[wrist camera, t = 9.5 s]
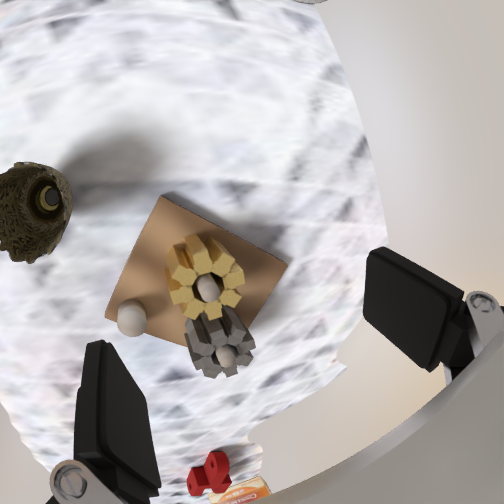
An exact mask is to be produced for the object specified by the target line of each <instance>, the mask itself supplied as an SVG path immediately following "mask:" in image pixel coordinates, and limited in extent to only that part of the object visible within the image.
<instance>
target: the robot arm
mask: <svg viewBox="0 0 504 504" xmlns="http://www.w3.org/2000/svg"><path fill="white" fill-rule="evenodd" d="M295 1H299V2H304V3H321V2H324V1H327V0H295ZM463 295H464V291H462V290H461V289H459V288H457V287H456V286H454V285H452V284H451V283H449V282H447V281H445V280H444V279H442V278H440V277H439V276H437V275H435V274H434V273H432V272H430V271H428V270H427V269H425V268H423V267H421V266H419V265H418V264H416V263H414V262H412V261H410V260H409V259H407V258H405V257H403V256H401V255H399V254H398V253H396V252H394V251H392V250H390V249H388V248H386V247H384V246H383V247H379V248H377V249H374V250H372V251H370V253H369V256H368V257H367V260H366V278H365V292H364V304H363V316H364V318H365V320H367V322H369V323H370V324H371V325H372V326H373V327H375V328H376V329H377V330H378V331H379V332H380V333H382V334H383V335H384V336H385V337H386V338H387V339H388V340H390V341H391V342H392V343H393V344H394V345H395V346H396V347H398V348H399V349H400V350H401V351H402V352H403V353H405V354H406V355H407V356H408V357H409V358H410V359H411V360H412V361H414V362H415V363H416V364H417V365H418V366H419V367H421V368H425V369H426V370H427V371H428V372H432V371H433V370H434V369H435V368H436V367H437V366H439V363H440V361H441V362H442V363H443V366H444V372H445V379H446V387H445V388H444V389H443V390H442V391H441V392H440V393H439V394H437V395H436V396H435V397H434V398H433V399H432V400H430V401H429V402H428V403H427V404H426V405H424V406H423V407H422V408H421V409H420V410H418V411H417V412H416V413H415V414H413V415H412V416H411V417H409V418H408V419H407V420H405V421H404V422H403V423H401V424H400V425H399V426H397V427H396V428H394V429H393V430H392V431H390V432H389V433H387V434H386V435H384V436H383V437H382V438H380V439H379V440H377V441H375V442H374V443H372V444H371V445H370V446H368V447H366V448H365V449H363V450H361V451H360V452H358V453H356V454H355V455H353V456H351V457H350V458H348V459H346V460H344V461H342V462H340V463H339V464H337V465H335V466H333V467H331V468H329V469H327V470H325V471H324V472H321V473H320V474H317V475H316V476H313V477H311V478H309V479H307V480H305V481H303V482H300V483H298V484H296V485H293V486H291V487H289V488H286V489H284V490H281V491H279V492H276V493H274V494H271V495H268V496H266V497H263V498H260V499H257V500H254V501H251V502H248V503H245V504H504V306H499V304H498V302H497V300H496V299H495V298H494V297H493V296H491V295H490V294H488V293H485V292H482V291H473V292H471V293H469V294H468V295H467V297H466V301H465V302H464V301H462V298H463ZM50 487H51V491H52V493H53V496H52V497H51V498H50V499H49V500H48V502H47V503H46V504H150V500H149V498H150V497H157V496H159V492H158V488H161V480H160V475H159V471H158V466H157V461H156V457H155V451H154V446H153V441H152V435H151V429H150V423H149V416H148V409H147V402H146V399H145V396H144V394H143V393H142V391H141V390H140V388H139V387H138V385H137V384H136V382H135V381H134V379H133V378H132V376H131V375H130V373H129V371H128V370H127V368H126V367H125V365H124V363H123V362H122V360H121V358H120V357H119V355H118V353H117V352H116V350H115V348H114V347H113V345H112V344H111V343H110V342H109V343H106V342H105V341H104V340H99V341H95V342H91V343H88V344H87V346H86V352H85V358H84V365H83V372H82V380H81V387H80V388H79V389H78V392H77V400H76V411H75V426H74V460H65V461H62V462H60V463H59V464H57V465H56V466H55V468H54V469H53V470H52V473H51V476H50Z"/></svg>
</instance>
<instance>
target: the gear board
mask: <svg viewBox="0 0 504 504" xmlns="http://www.w3.org/2000/svg"><path fill="white" fill-rule="evenodd" d="M194 234H197V235H198V237H199V238H200V240H201V241H202V243H205V242H206V240H207V239H208V237H209V236H211V237H213V238H214V239H216V240H218V241H219V242H221V244H222V245H223V246H224V247H225V248H226V249H227V251H228V252H229V253H230V254H231V255H232V256H233V257H234V258H235V262H236V263H237V264H238V265H239V266H240V268H241V269H242V270H243V273H244V279H245V284H242V285H239V286H236V289H237V290H238V292H239V293H240V295H241V296H242V297H241V299H240V300H239V302H238V303H237V305H236V306H235V308H233V307H231V306H229V305H227V304H226V306H225V305H223V304H221V305H222V308H221V312H222V317H219V318H216V319H213V320H210V321H209V319H208V317H207V315H206V313H205V311H204V310H203V312H202V313H199V315H198V316H197V318H196V320H194V319H191V318H189V317H187V316H184V315H183V314H182V311H181V307H180V304H175V305H173V302H172V299H171V295H170V292H169V288H168V284H167V279H166V275H165V270H164V269H166V268H169V266H168V262H167V258H166V256H167V254H168V252H169V251H170V249H171V247H172V246H175V247H177V248H178V249H180V250H181V249H183V250H185V248H184V246H186V245H185V241H184V237H187V236H190V235H194ZM287 267H288V265H287V264H286V263H285V262H283V261H281V260H280V259H278V258H276V257H274V256H272V255H270V254H269V253H267V252H265V251H263V250H261V249H259V248H258V247H256V246H254V245H252V244H250V243H248V242H247V241H245V240H243V239H241V238H239V237H237V236H235V235H234V234H232V233H230V232H228V231H226V230H224V229H223V228H221V227H219V226H217V225H215V224H213V223H211V222H210V221H208V220H206V219H204V218H202V217H200V216H198V215H197V214H195V213H193V212H191V211H189V210H187V209H185V208H184V207H182V206H180V205H178V204H176V203H174V202H172V201H170V200H169V199H167V198H165V197H163V196H160V197H159V199H158V201H157V203H156V205H155V207H154V208H153V210H152V212H151V214H150V216H149V218H148V220H147V222H146V224H145V226H144V228H143V229H142V231H141V233H140V235H139V237H138V239H137V241H136V244H135V246H134V248H133V250H132V252H131V254H130V256H129V258H128V260H127V262H126V265H125V267H124V269H123V271H122V273H121V276H120V278H119V280H118V283H117V285H116V287H115V289H114V292H113V294H112V297H111V299H110V301H109V304H108V306H107V309H106V311H105V318H107V319H109V320H112V321H114V322H117V326H118V329H119V330H120V332H121V333H123V334H124V335H126V336H129V337H136V336H139V335H141V334H143V333H146V334H149V335H152V336H155V337H158V338H161V339H164V340H167V341H170V342H173V343H176V344H179V345H182V346H185V347H188V349H189V352H190V356H191V359H192V362H193V364H194V366H195V368H196V370H199V369H202V370H203V373H204V376H206V377H210V378H214V379H215V378H216V377H217V375H218V374H219V373H221V372H222V371H223V373H225V374H226V377H230V376H232V375H235V374H238V372H237V369H236V368H237V365H239V366H240V365H244V366H248V365H249V363H250V362H251V361H252V359H253V358H254V357H253V356H252V354H251V352H250V350H252V349H255V348H256V346H255V342H254V339H253V337H252V336H251V334H250V333H249V331H248V327H249V326H250V324H251V323H252V321H253V320H254V318H255V317H256V315H257V314H258V312H259V311H260V309H261V308H262V306H263V304H264V303H265V301H266V300H267V298H268V297H269V295H270V294H271V292H272V290H273V289H274V287H275V286H276V284H277V282H278V281H279V279H280V278H281V276H282V275H283V273H284V271H285V270H286V268H287ZM195 283H196V285H197V288H198V290H199V292H200V294H201V297H202V299H203V300H204V301H206V302H214V301H216V300H217V299H218V298H219V296H220V290H219V288H218V286H217V285H216V283H215V281H214V279H213V278H212V276H211V274H210V273H205V274H202V275H198V277H197V278H196V280H195Z"/></svg>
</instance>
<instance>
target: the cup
mask: <svg viewBox="0 0 504 504" xmlns="http://www.w3.org/2000/svg"><path fill="white" fill-rule="evenodd" d="M49 189H55V190H56V191H57V193H58V196H59V201H58V202H57V204H55V205H49V204H48V203H47V202H46V200H45V194H46V192H47V191H48V190H49ZM72 206H73V200H72V192H71V189H70V186H69V184H68V182H67V180H66V179H65V178H64V176H63V175H62V174H61V173H60V172H58V171H57V170H55V169H54V168H52V167H49V166H46V165H42V164H37V163H33V162H17V163H14V167H12V168H10V169H9V170H8V171H7V172H5V173H3V174H0V241H1V243H0V251H5V250H7V252H8V253H9V257H10V259H11V260H12V261H14V262H22V261H26V262H27V263H28V264H32V263H34V262H35V260H36V259H37V258H38V257H41V256H44V255H45V254H47V253H48V254H47V255H50V254H51V253H52V252H53V250H54V249H55V247H56V246H57V245H58V243H59V242H60V240H61V238H62V235H63V233H64V231H65V229H66V227H67V225H68V222H69V220H70V216H71V212H72Z"/></svg>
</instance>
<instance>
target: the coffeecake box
mask: <svg viewBox="0 0 504 504" xmlns="http://www.w3.org/2000/svg"><path fill="white" fill-rule="evenodd" d="M271 494H272V493H271V491H270V489H269V487H268V486H267V483H266V482H265V481H264V480H263V479H262V477H261V476H258V477H255V478H253V479H250V480H248V481H245V482H243V483H240V484H237V485H235V486H232V487H229V488H228V489H227V490H226V492H225V493H219V494H215V493H210V494H208V497H209V500H210V503H211V504H245V503H248V502H251V501H254V500H257V499H260V498H263V497H266V496H268V495H271Z"/></svg>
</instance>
